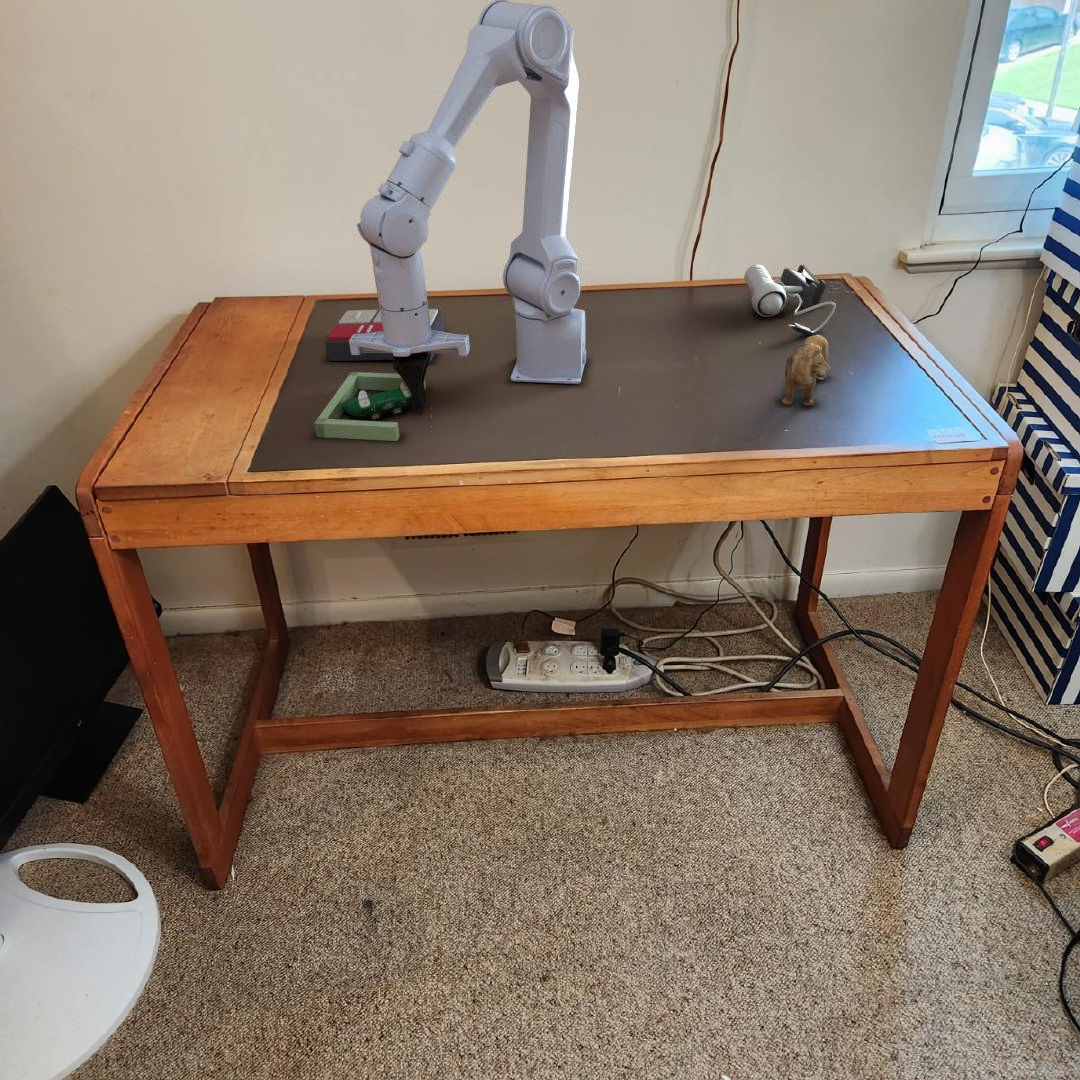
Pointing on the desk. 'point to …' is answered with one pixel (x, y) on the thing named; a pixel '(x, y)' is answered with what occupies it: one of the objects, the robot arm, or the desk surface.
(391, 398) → the gaming controller
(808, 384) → the lion figurine
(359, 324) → the calculator
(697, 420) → the desk surface
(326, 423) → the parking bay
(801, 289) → the clip-on lamp
